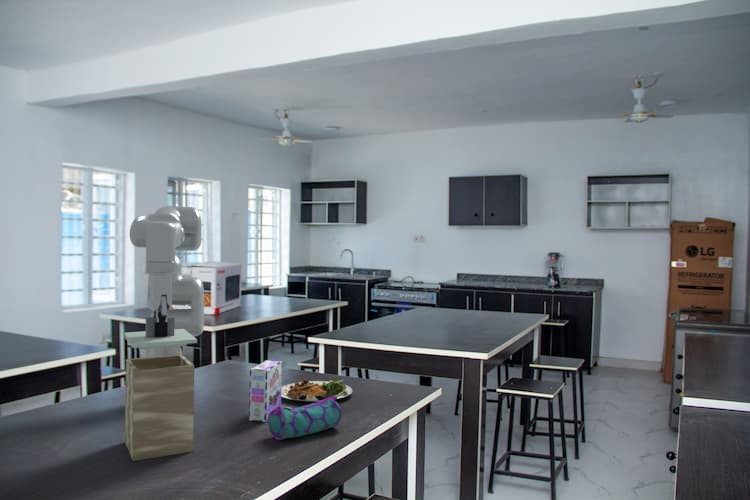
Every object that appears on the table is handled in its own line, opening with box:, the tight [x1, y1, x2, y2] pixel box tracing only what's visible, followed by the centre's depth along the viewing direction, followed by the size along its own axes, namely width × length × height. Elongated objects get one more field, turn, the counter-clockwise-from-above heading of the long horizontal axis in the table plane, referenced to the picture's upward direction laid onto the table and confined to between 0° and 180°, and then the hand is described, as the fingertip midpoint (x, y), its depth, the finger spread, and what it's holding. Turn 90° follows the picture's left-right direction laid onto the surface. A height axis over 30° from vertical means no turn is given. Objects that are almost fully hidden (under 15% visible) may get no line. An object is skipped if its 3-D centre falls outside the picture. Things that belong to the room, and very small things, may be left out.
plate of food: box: [281, 378, 353, 403], centre depth 213 cm, size 28×28×6 cm
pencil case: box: [267, 396, 342, 441], centre depth 173 cm, size 21×9×10 cm, turn 130°
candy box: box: [248, 359, 283, 423], centre depth 188 cm, size 14×6×16 cm, turn 168°
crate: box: [124, 354, 195, 462], centre depth 159 cm, size 15×15×23 cm
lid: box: [123, 316, 198, 350], centre depth 159 cm, size 16×16×7 cm
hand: (159, 335), depth 159 cm, fingers closed on lid, 2 cm apart
